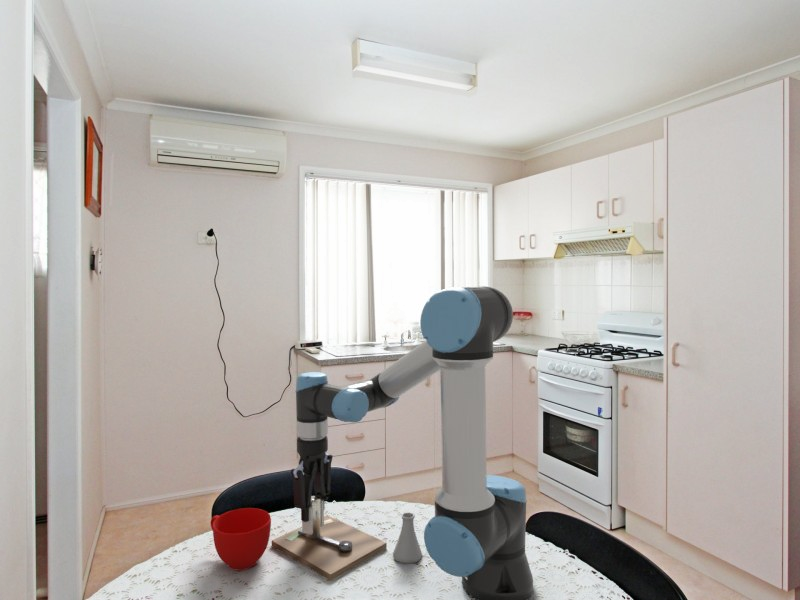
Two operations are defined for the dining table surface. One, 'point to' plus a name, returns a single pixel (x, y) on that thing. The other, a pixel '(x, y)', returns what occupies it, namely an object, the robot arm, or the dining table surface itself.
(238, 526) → the ceramic cup
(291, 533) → the board
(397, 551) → the flask
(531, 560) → the dining table surface
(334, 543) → the metal crank handle
